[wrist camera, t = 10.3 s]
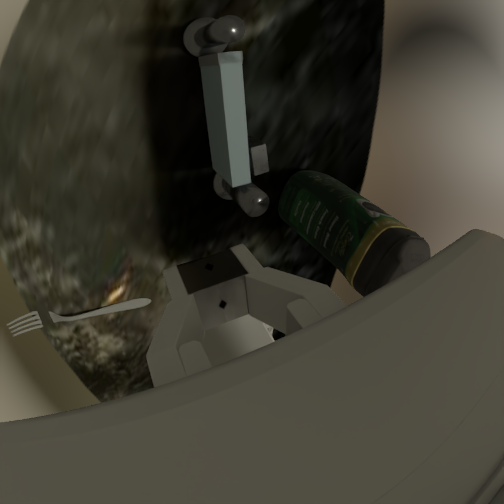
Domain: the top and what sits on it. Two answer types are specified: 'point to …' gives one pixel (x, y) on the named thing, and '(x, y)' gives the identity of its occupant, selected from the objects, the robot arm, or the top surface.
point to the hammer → (249, 193)
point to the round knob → (212, 34)
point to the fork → (109, 309)
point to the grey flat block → (226, 115)
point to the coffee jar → (350, 231)
